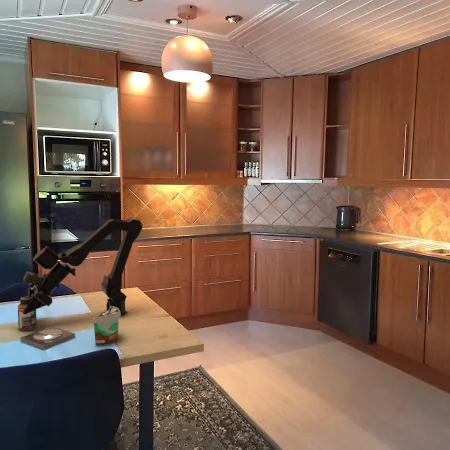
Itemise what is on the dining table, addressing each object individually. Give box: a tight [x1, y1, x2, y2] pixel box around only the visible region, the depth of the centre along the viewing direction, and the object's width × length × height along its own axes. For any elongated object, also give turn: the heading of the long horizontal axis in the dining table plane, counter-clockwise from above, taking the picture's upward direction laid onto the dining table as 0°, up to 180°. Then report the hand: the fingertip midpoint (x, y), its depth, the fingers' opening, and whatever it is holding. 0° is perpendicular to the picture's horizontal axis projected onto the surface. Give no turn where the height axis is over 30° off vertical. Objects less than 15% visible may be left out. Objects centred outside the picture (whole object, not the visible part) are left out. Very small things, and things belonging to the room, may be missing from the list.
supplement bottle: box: [17, 295, 38, 332], centre depth 146 cm, size 6×6×11 cm
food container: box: [92, 306, 122, 346], centre depth 137 cm, size 12×6×10 cm, turn 168°
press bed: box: [20, 326, 76, 351], centre depth 137 cm, size 12×12×2 cm
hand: (22, 311), depth 145 cm, fingers closed on supplement bottle, 6 cm apart
